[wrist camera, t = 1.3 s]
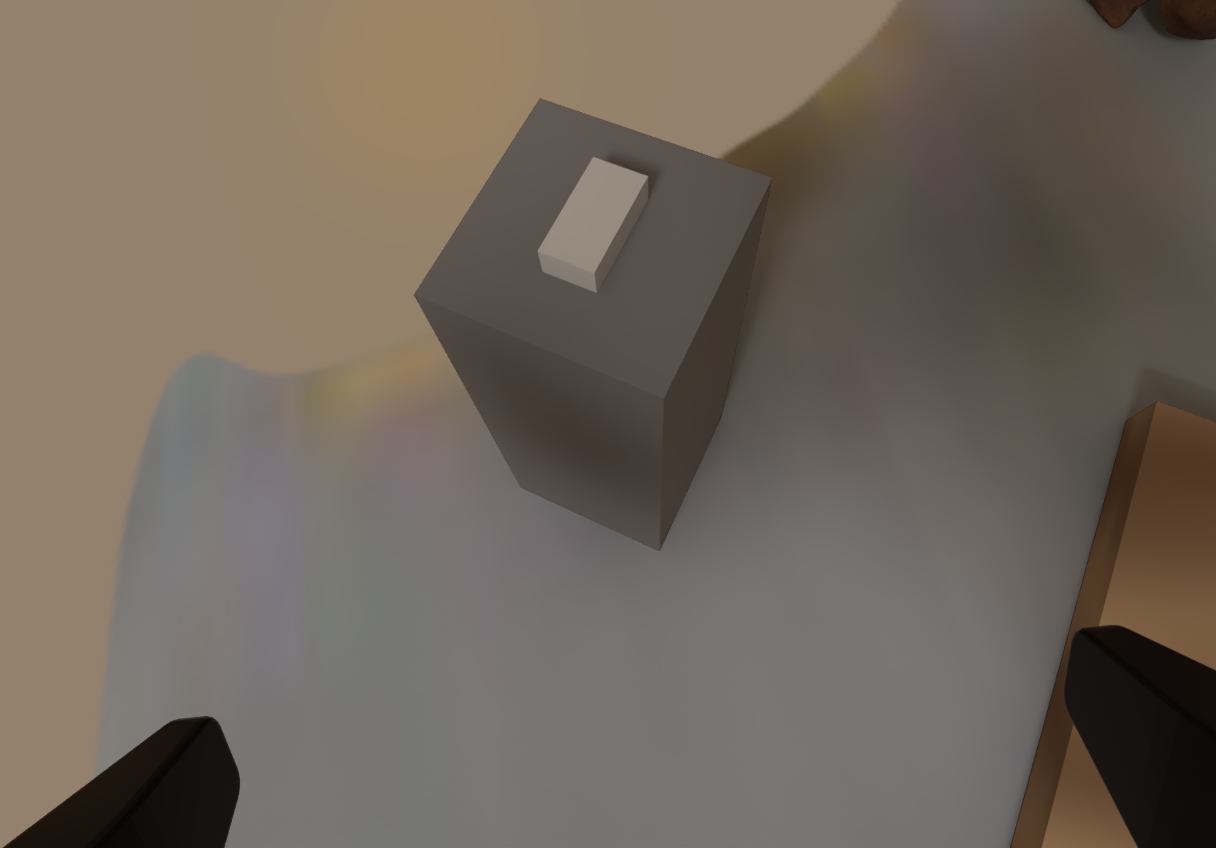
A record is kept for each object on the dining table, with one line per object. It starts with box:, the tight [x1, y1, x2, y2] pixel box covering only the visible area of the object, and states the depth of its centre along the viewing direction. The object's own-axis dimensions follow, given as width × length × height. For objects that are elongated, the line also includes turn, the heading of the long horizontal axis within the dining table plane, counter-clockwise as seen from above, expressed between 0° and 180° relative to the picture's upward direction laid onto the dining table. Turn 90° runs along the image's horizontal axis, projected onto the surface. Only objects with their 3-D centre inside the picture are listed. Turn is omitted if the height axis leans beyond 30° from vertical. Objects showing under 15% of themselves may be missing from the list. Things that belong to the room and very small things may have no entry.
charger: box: [414, 99, 773, 551], centre depth 18 cm, size 4×4×12 cm
